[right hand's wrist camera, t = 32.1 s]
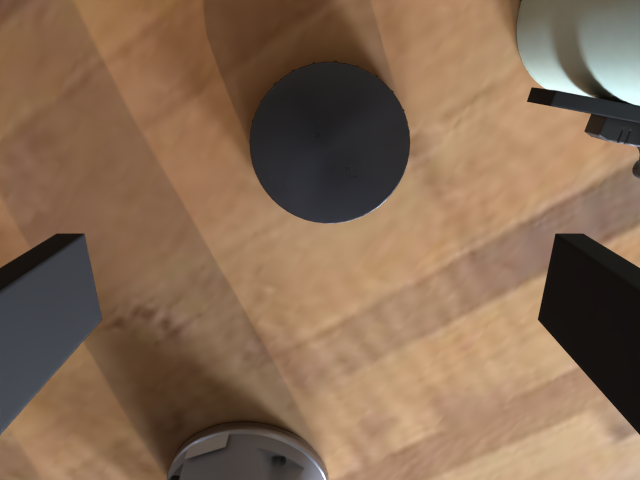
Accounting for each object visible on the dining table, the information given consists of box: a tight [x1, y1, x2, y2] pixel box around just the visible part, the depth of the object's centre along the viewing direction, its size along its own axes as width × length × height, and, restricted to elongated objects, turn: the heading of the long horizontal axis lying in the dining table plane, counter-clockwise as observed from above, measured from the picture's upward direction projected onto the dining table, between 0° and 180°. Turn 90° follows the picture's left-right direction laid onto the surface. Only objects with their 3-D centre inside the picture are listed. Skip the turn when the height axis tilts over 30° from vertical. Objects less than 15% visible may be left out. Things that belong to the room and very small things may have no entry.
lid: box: [250, 61, 410, 223], centre depth 29 cm, size 10×10×2 cm
